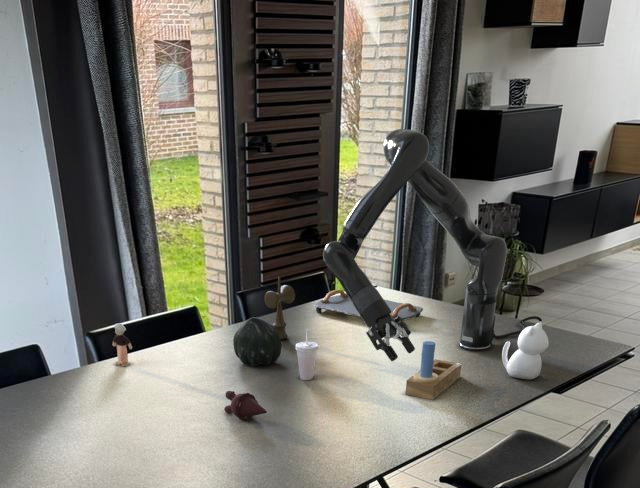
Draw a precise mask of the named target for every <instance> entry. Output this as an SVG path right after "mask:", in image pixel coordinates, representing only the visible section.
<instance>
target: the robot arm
mask: <svg viewBox="0 0 640 488" xmlns="http://www.w3.org/2000/svg"><path fill="white" fill-rule="evenodd" d="M429 152H430V142H429V139H428V137H427V136H426V135H425V134H424V133H423V132H420V131H418V130H413V129H409V128H398V129H397V128H396V129H394V130H392V131H391V132H389V133H388V134H387V136H386V138H385V140H384V142H383V154H384V158H385V159H386V161H387V163H388V164H389V165H390V166H389V168H388V170H387V171H386V173H384V175H383V176H382V177H381V178H380V180H379V181H378V182H377V183H376V184H375V185H374V186H373V187H372V188H371V189H369V190H368V191H367V192H366V193H365V194H364V195H363V196H362V197H361V198H359V200H358V201H357V203H356V204H355V205H354V207H353V208H352V210H351V212H350V213H349V215H348V216H347V218H346V219H345V221H344V222H343V225H342V231H341V233H340V236H339V237H338V239H337V240H332V241H330V242H328V243H327V244H326V245H325V246H324V249H323V250H322V251H323V252H322V258H323V262H324V263H325V265H326V267H327V268H328V270H329V271H330V272H331V273H332V274H333V276H334V277H335V278H336V280H337V281H338V282H339V284H340V285H341V287H342V290H343V291H344V293H346V294H347V295H348V297H349V298H350V300H351V301H352V303H353V305H354V307H355V309H356V310H357V312H358V313H359V315H360V316H361V317H360V318H361V320H362V321H363V322H364V324H365V325H366V327H367V328H368V330H367V331H366V332H365V334H366V336H367V337H368V339H369V340H370V342H371V344H372V345H373V347H374V349H375V350H376V351H379V350H380V351H383V352H384V353H385V355H386V356H387V358H388V359H389V361H391V362H395V361H396V360H397V359H399V356H398V354H397V352H396V351H395V349H394V348H393V346H392V345H391V343H390V339H393V340H398V341H399V342H400V343H401V345H402V346H403V348H404V349H405V350H406V353H408V354H411V353H413V352H414V351H415V350H416V347H415V345H414V344H413V343H412V340H411V339H410V338H409V337H410V335H412V331H411V330H410V329H409V327H408V326H407V324H406V323H405V321H404V320H402V319H401V318H400V317H399V316H398V317H397V318H395V319H394V320H393V319H392V318H391V317H390V314H391V310H390V308H389V307H388V305H387V304H386V302H385V301H384V300H385V299H384V298H383V296H382V294H381V293H380V292H379V290H378V289H377V288H376V287H375V286H374V284H373V283H372V281H371V280H370V278H369V277H368V276H367V275H366V273H365V272H364V271H363V270H362V269H361V267H360V266H359V265H358V263H357V261H356V258H357V255H358V253H359V251H360V249H361V247H362V245H363V242H364V241H365V240H366V237H367V236H368V235H369V233H370V232H371V230H372V229H373V228H374V225H375V224H376V223H377V221H378V220H379V218H380V217H381V215H382V213H383V212H384V211H385V209H387V207H388V206H389V205H390V203H391V202H392V201H393V199H394V198H395V197H396V196H397V194H398V193H399V192H400V191H401V190H402V189H403V187H404V186H405V185H406V184H407V183H408V184H409V185H410V186H411V187H412V189H413V190H414V192H415V194H416V195H417V196H418V197H419V199H420V200H421V202H423V204H424V205H425V206H426V208H427V209H428V210H429V212H430V213H431V215H432V216H433V217H434V218H435V219H436V220H437V222H439V224H440V225H441V226H442V227H443V229H444V230H445V231H446V232H447V234H448V235H449V236H450V237H451V238H452V239H453V240H454V242H455V243H456V245H457V248H458V249H459V250H460V252H461V254H462V255H463V257H464V258H465V260H466V261H467V262H468V263H469V264H470V265H472V266H474V267H478V270H477V275H476V277H474V278H470V279H469V280H467V282H466V287H465V296H464V305H463V313H462V321H461V329H460V338H459V342H458V343H459V344H458V346H459V347H460V348H461V349H464V350H467V351H475V352H480V351H486V350H489V349H490V348H491V346H492V345H493V344H492V343H493V341H494V339H504V338H507V337H511V336H514V335H518V334H519V335H520V333H521V332H522V331H523V330H524V329H525V328H526V327H527V326H526V325H524V324H522V323H525V322H527V321H530V320H538V321H539V322H542V321H543V319H542V318H541V317H540V316H537V315H532V316H531V315H530V316H527V317H525V318H523V319H520V320H521V321H520V320H519V321H518V322H517V325H518V326H519V327H520V328H522V329H520V330H516V331H515V330H514V331H511V332H507V333H505V334H504V333H503V334H501V335H497V334H495V323H496V314H495V311H496V306H497V298H498V291H499V286H500V285H501V283H502V280H503V277H504V270H505V267H506V260H507V255H508V252H507V251H508V247H507V243H506V241H505V240H504V239H503V238H502V237H500V236H496V235H492V234H487V233H485V232H483V231H482V230H480V228H479V227H478V226H477V225H476V224H475V223H474V221H473V219H472V218H471V212H470V211H471V210H470V205H469V202H468V200H467V198H466V196H465V195H464V194H463V193H462V191H461V190H460V188H459V187H458V185H456V183H455V182H454V181H453V180H452V179H450V178H449V177H448V176H447V175H446V174H444V173H443V172H442V171H441V170H439V169H438V168H437V167H435V166H434V165H433V164H432V163H431V162H430V161H429V160H428V156H429ZM522 321H523V322H522Z"/></svg>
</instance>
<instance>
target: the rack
mask: <svg viewBox="0 0 640 488" xmlns="http://www.w3.org/2000/svg"><path fill="white" fill-rule="evenodd" d="M418 372H420V370H419V371H418ZM461 372H462V363H460V362H453V361H447V360H441V359H436V358H434V362H433V372H432V373H435V374H437V375H438V380H437V381H435V382H429V383H425V382H419V381H416V380H415V379H414V374H413V375H412V376H410V377H408V379H406V384H405V395H408V396H412V397H418V398H423V399H427V400H432V401H433V400H434V399H436V398H437V397H438V396H439V395H441V393H443V392H444V391H445V390H447V389H448V388H449V387H450V386H452V384H454V383H455V382H456V381H457V380H459V379H460V377H461Z"/></svg>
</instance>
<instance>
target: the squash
mask: <svg viewBox="0 0 640 488" xmlns="http://www.w3.org/2000/svg"><path fill="white" fill-rule="evenodd" d="M232 343H233V344H232V345H233V349H234V354H235V355H236V357H237V358H238V359H239V360H240V362H241V363H242V364H243V365H245V366H253V367H258V366H259V365H263V366H268V365H269V364H273V363H274V362H276V361H277V360H278V359H279V357H280V356H281V353H282V344H283V343H282V340H281V338H280V335H279V332H278V330H277V329H276V328H275V327H274V326H273V324H271V323H269V322H268V321H266V320H264V319H262V318H259V317H255V316H253V317H250V318H248V319H247V320H246V321H245V322H243V323H242V324H240V327H238V328H237V330H236V332H235V334H234V336H233V341H232Z"/></svg>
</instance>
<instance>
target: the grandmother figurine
mask: <svg viewBox="0 0 640 488" xmlns="http://www.w3.org/2000/svg"><path fill="white" fill-rule="evenodd" d="M113 327H114V333H115V335H114V337H113V339H112V347H116V352H117V353H116V354H117V361H115V363H114V364H115V365H116V366H119V365H121V367H128V366H129V365H130V362H129V355H128V349H129V350H132V349H133V346H132V343H131V341H130V339H129V338H128V337H126V336H125V335H124V334H125V331H127V328H126V326H124V325H123V324H122V323H115V324H114V325H113ZM127 346H128V349H127Z"/></svg>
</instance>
